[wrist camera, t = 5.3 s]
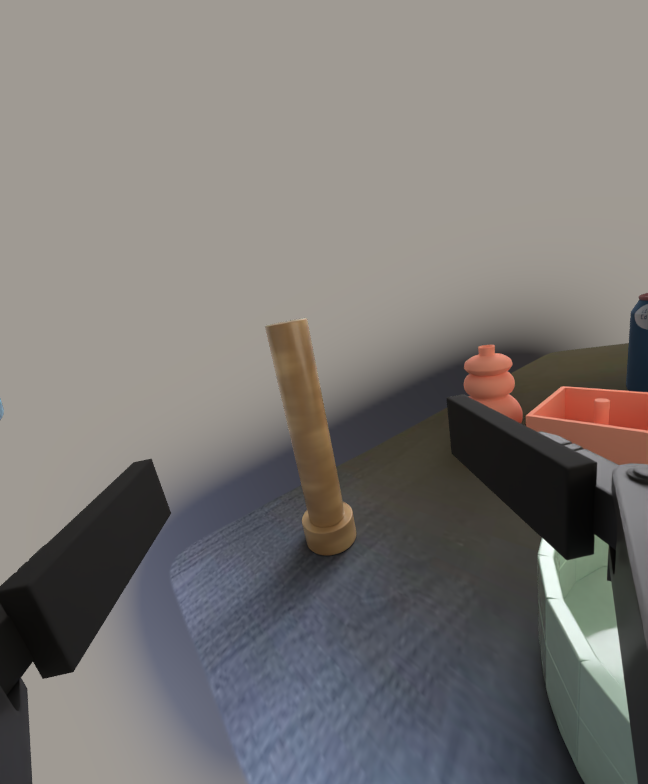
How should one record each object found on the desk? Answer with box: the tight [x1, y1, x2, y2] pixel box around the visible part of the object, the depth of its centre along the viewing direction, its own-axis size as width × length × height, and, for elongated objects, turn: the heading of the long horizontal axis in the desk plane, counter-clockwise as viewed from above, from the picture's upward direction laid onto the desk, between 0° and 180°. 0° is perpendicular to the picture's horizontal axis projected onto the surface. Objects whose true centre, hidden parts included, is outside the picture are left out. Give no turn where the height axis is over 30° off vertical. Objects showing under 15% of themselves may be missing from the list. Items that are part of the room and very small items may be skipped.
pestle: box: [265, 318, 356, 555], centre depth 24 cm, size 4×4×17 cm
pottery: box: [464, 345, 648, 465], centre depth 33 cm, size 18×10×10 cm, turn 38°
